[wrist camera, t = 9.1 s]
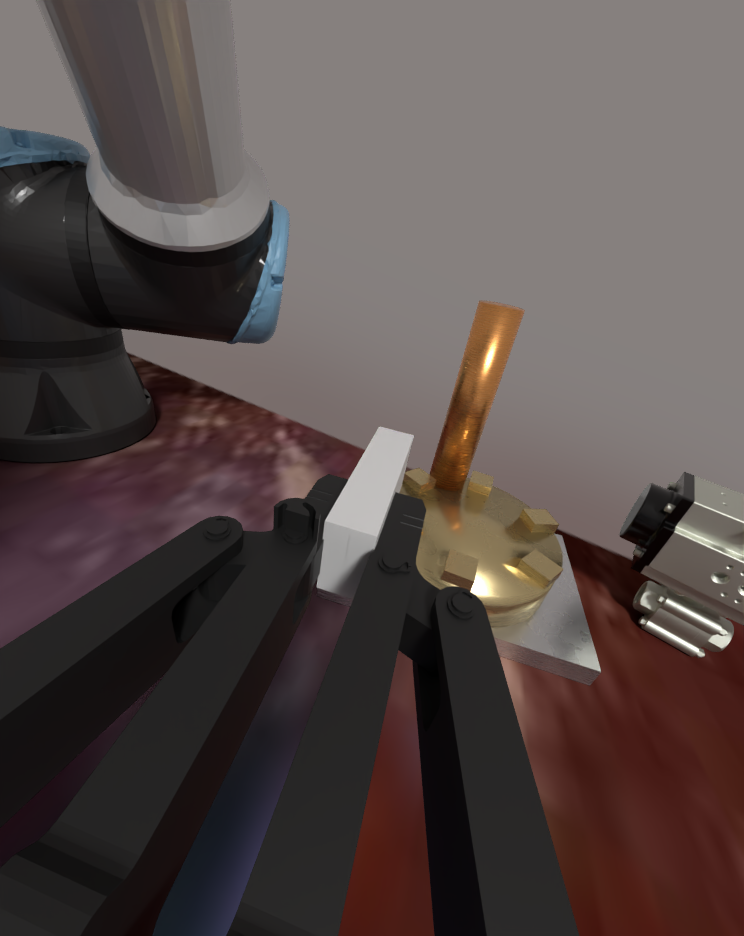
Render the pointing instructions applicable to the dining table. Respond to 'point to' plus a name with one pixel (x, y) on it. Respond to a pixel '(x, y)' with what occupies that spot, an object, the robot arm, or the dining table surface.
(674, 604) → the pneumatic valve
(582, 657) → the flange plate
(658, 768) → the dining table surface
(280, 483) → the dining table surface
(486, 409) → the brass lugged disc
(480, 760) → the robot arm
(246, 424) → the dining table surface
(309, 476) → the dining table surface
